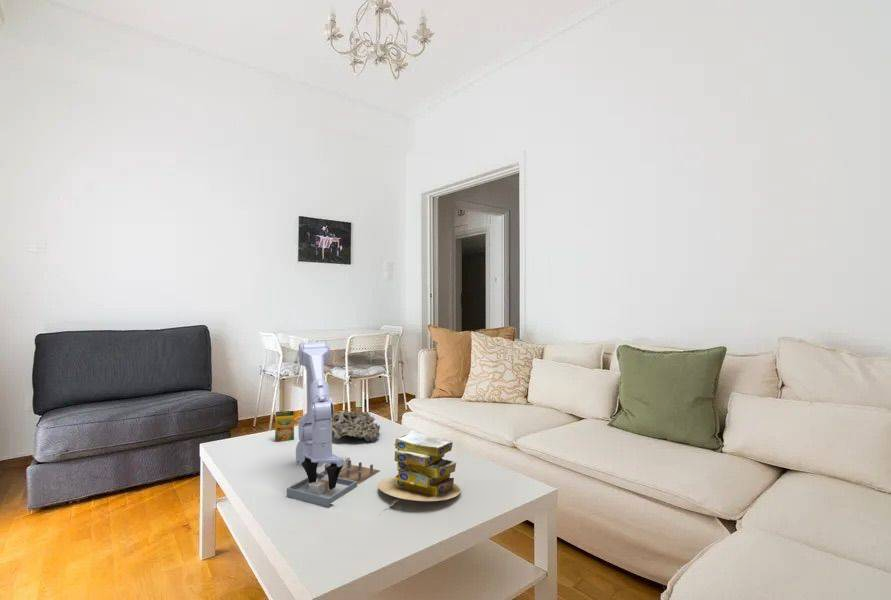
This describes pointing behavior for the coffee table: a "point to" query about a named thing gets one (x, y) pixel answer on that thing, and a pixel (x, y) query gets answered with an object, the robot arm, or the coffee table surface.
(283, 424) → the crayon box
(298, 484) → the tray
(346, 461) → the block
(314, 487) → the marked fuse
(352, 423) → the decorative rock
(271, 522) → the coffee table surface
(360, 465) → the board
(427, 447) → the stacked boxes on plate
